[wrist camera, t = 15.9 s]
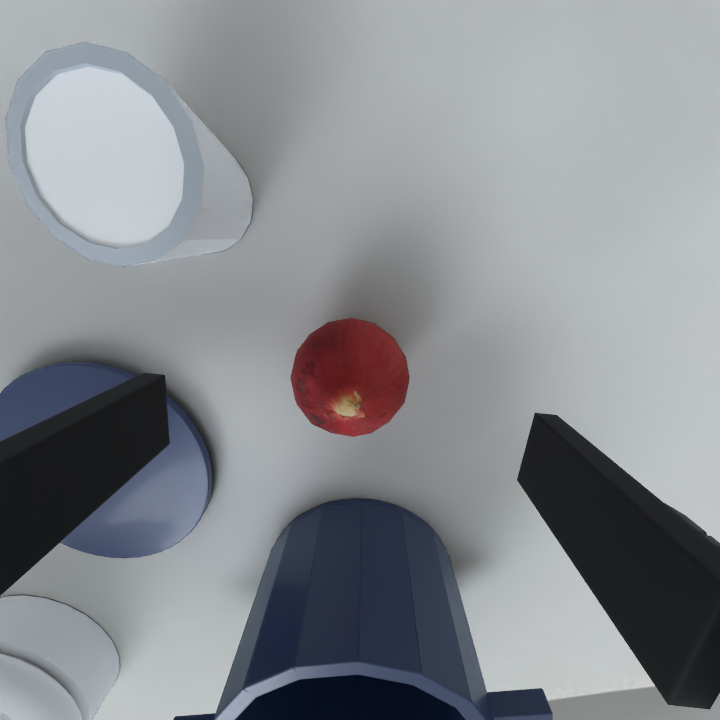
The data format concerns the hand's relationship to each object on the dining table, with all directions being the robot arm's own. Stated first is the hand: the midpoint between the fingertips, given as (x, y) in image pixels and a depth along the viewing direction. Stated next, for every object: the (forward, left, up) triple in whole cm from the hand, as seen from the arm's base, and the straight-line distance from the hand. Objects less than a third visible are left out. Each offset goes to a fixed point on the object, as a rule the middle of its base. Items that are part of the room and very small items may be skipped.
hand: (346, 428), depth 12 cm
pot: (+17, +2, -9) cm, 19 cm away
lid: (+9, -16, -8) cm, 20 cm away
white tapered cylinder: (-8, -9, -9) cm, 15 cm away
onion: (0, 0, -9) cm, 9 cm away
